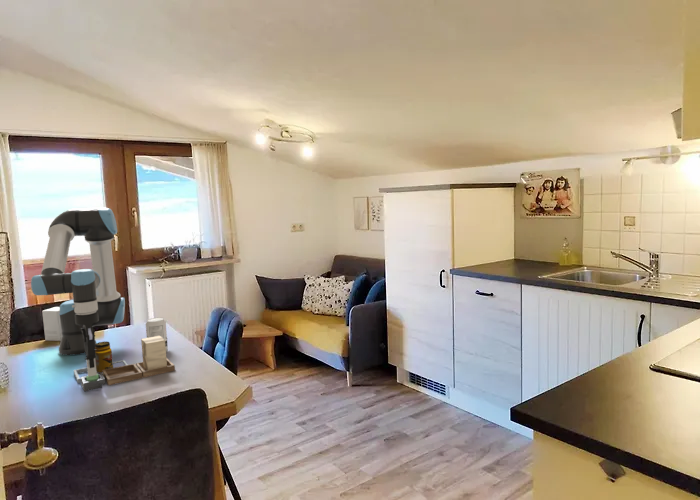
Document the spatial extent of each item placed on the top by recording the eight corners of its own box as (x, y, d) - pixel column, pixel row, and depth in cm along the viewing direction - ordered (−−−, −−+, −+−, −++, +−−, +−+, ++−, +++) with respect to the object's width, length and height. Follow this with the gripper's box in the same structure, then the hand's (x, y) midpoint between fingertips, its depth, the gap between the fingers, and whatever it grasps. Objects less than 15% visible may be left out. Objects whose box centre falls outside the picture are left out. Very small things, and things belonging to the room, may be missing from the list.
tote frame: (73, 373, 199) (73, 370, 199) (124, 363, 210) (124, 359, 210) (78, 383, 189) (77, 379, 189) (131, 371, 199) (130, 368, 199)
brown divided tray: (102, 378, 193) (101, 370, 193) (166, 364, 207) (166, 356, 206) (108, 388, 183) (107, 380, 182) (175, 373, 196) (175, 365, 196)
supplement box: (74, 335, 254) (71, 306, 252) (60, 341, 245) (57, 311, 243) (59, 335, 256) (56, 306, 254) (44, 340, 247) (41, 310, 245)
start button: (86, 380, 186) (85, 375, 186) (98, 378, 188) (97, 373, 188) (87, 384, 183) (87, 378, 183) (99, 381, 185) (99, 376, 185)
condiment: (115, 373, 199) (113, 343, 197) (91, 378, 194) (88, 347, 193) (112, 368, 205) (110, 339, 203) (89, 372, 200) (86, 343, 199)
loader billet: (143, 368, 199) (141, 338, 198) (161, 364, 203) (159, 335, 202) (148, 374, 193) (146, 343, 191) (167, 370, 197) (165, 340, 195)
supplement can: (143, 355, 220) (141, 321, 218) (157, 349, 228) (155, 316, 226) (158, 356, 217) (155, 322, 215) (172, 350, 224) (169, 317, 223)
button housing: (81, 384, 187) (80, 377, 187) (102, 380, 191) (101, 372, 191) (84, 391, 181) (83, 383, 180) (105, 386, 185) (105, 378, 184)
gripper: (72, 310, 186) (78, 372, 189) (76, 317, 175) (83, 383, 178) (95, 307, 190) (100, 368, 193) (100, 313, 179) (106, 378, 182)
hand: (92, 375), depth 185 cm, fingers closed
